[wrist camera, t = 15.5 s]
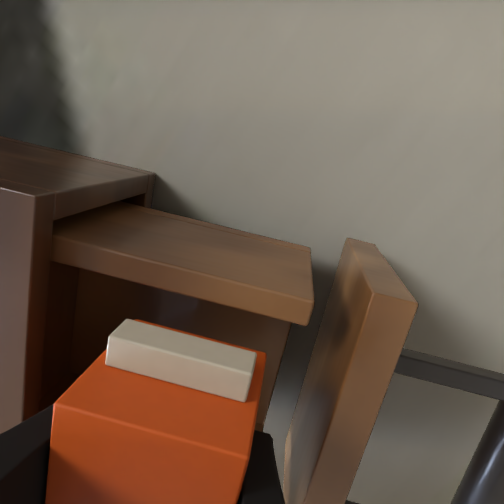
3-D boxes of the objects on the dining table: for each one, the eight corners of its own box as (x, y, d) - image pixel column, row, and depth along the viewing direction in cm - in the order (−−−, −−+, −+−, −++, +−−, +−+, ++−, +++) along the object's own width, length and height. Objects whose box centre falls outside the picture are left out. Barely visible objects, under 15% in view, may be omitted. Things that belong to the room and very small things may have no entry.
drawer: (502, 274, 16) (627, 355, 10) (415, 476, 19) (469, 636, 13) (84, 173, 17) (-39, 189, 11) (64, 380, 20) (-41, 484, 14)
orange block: (274, 327, 11) (259, 424, 7) (227, 504, 13) (196, 655, 9) (139, 292, 11) (54, 368, 7) (112, 471, 13) (34, 604, 9)
